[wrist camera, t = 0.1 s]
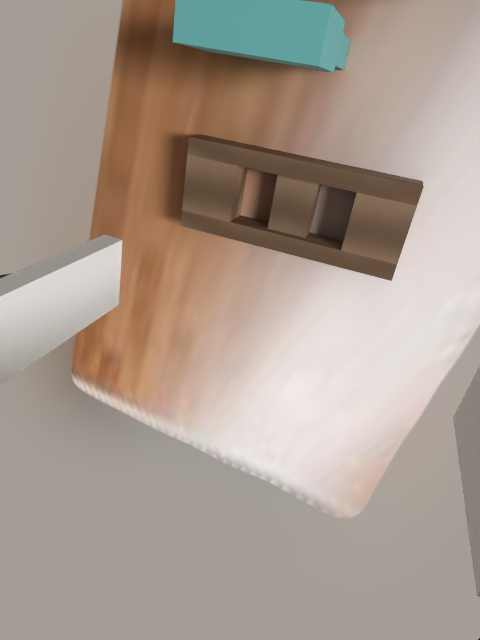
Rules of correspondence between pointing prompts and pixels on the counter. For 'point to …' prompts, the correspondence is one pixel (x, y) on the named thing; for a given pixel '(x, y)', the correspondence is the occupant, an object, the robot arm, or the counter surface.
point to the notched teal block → (265, 31)
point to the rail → (298, 204)
